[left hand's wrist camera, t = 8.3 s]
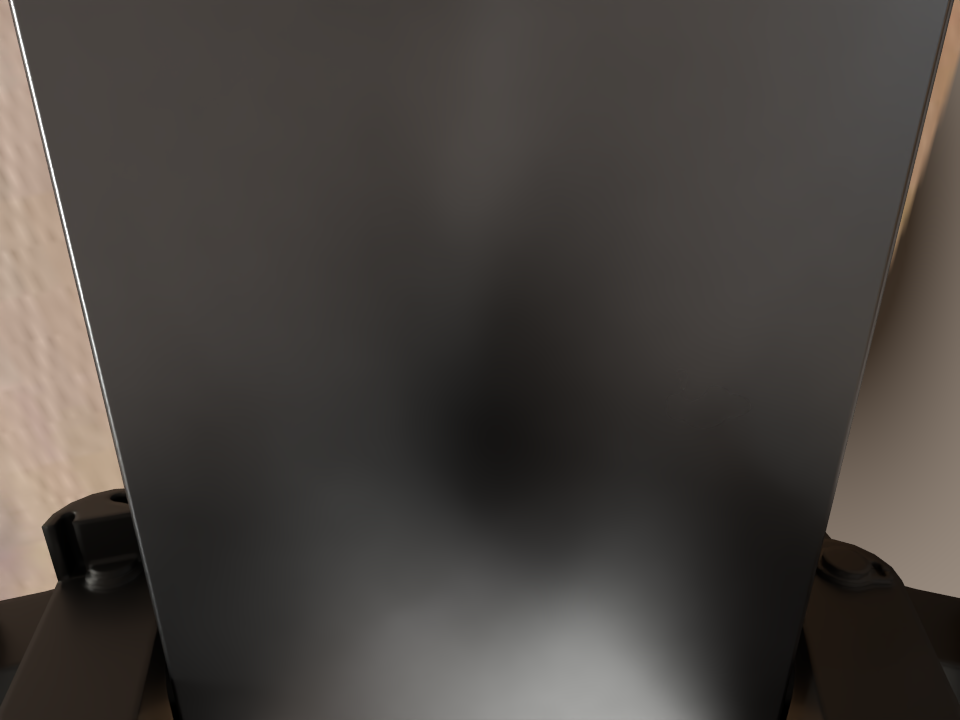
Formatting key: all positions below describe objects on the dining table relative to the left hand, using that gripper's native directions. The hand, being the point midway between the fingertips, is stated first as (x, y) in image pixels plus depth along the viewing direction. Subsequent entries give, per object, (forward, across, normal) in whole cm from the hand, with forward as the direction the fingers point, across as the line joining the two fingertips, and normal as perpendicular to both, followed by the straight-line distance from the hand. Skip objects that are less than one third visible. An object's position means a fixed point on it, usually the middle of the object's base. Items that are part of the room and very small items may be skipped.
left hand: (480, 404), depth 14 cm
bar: (0, 0, -9) cm, 9 cm away
